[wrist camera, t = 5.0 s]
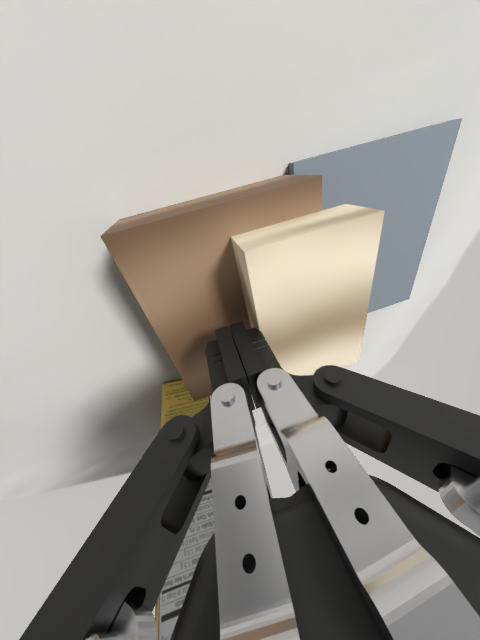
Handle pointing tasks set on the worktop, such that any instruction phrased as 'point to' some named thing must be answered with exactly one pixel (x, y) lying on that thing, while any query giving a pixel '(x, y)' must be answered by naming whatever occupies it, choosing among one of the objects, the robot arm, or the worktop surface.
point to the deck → (201, 263)
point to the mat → (390, 197)
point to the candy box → (200, 529)
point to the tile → (311, 284)
